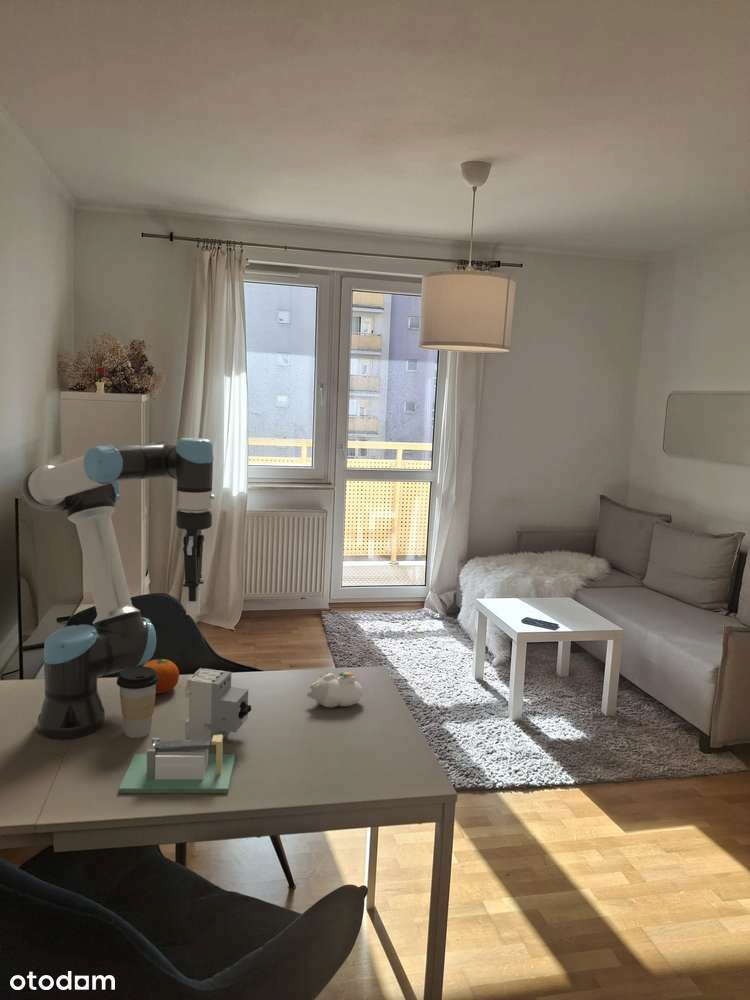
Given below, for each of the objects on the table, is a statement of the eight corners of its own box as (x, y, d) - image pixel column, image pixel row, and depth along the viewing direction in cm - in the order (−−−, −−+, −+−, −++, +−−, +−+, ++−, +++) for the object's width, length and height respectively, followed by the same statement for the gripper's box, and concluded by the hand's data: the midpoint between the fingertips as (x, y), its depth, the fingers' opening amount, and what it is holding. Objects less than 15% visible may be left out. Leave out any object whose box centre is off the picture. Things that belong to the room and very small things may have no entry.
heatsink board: (118, 793, 150) (118, 754, 148) (135, 758, 164) (135, 722, 162) (228, 793, 152) (228, 754, 150) (235, 758, 166) (235, 723, 164)
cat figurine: (365, 667, 198) (311, 665, 193) (370, 693, 192) (315, 691, 187) (355, 689, 203) (302, 687, 198) (360, 714, 197) (306, 713, 192)
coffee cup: (135, 745, 169) (135, 684, 167) (108, 733, 174) (107, 673, 171) (166, 730, 177) (167, 671, 174) (140, 719, 182) (140, 661, 179)
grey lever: (149, 753, 155) (148, 747, 154) (152, 745, 158) (152, 740, 158) (209, 749, 156) (209, 744, 155) (211, 742, 159) (211, 737, 159)
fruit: (156, 702, 192) (156, 673, 191) (130, 691, 197) (130, 663, 196) (187, 689, 201) (187, 661, 200) (161, 679, 206) (161, 652, 205)
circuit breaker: (242, 748, 170) (243, 687, 168) (185, 740, 173) (185, 679, 170) (253, 734, 177) (255, 675, 175) (198, 725, 180) (199, 667, 178)
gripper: (207, 515, 154) (205, 623, 158) (215, 505, 167) (213, 605, 170) (171, 514, 153) (170, 622, 157) (181, 503, 166) (181, 604, 170)
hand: (193, 613), depth 164 cm, fingers closed
